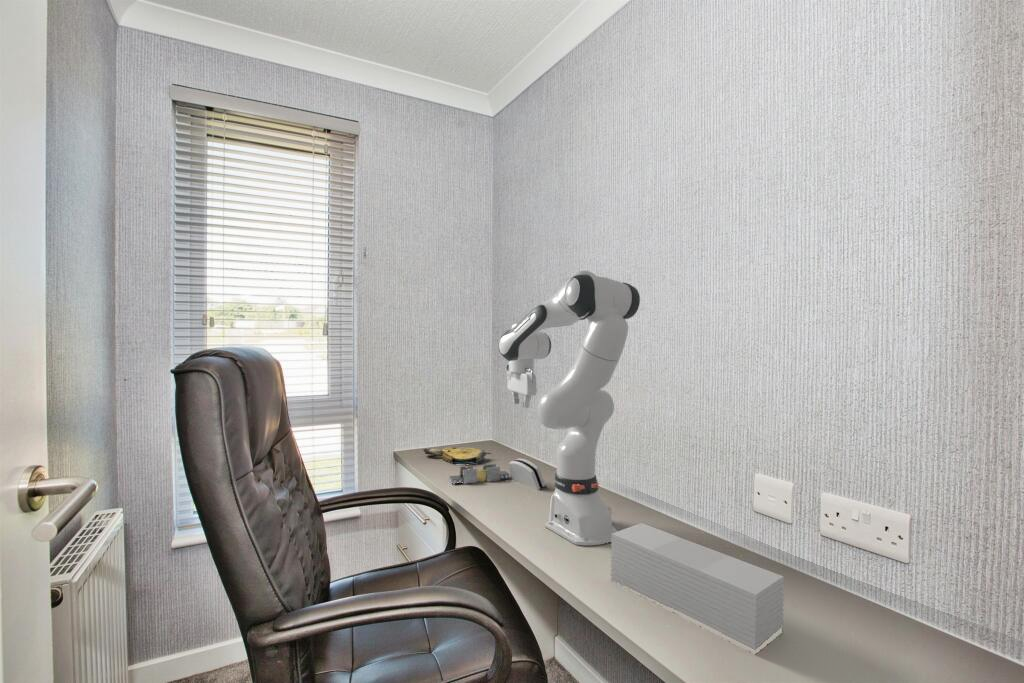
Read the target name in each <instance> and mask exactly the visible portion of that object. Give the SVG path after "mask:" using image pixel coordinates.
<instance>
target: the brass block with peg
mask: <svg viewBox="0 0 1024 683" xmlns="http://www.w3.org/2000/svg"><path fill="white" fill-rule="evenodd" d="M489 468H490V467H489ZM477 481H480V482H487V481H486V469H483V468H482V469H477Z"/></svg>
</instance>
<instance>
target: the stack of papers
mask: <svg viewBox="0 0 1024 683" xmlns="http://www.w3.org/2000/svg"><path fill="white" fill-rule="evenodd" d="M617 531H618V532H615V533H612V536H611V538H612V539H611V543H610V545H611V549H610V550H611V552H610V555H611V557H610V559H611V560H610V564H611V565H610V568H611V569H610V581H611V580H612V581H611V582H613V581H614V582H613V583H615V582H616V583H615V584H617V583H619V584H621V585H623V586H626V587H628V588H629V589H632V590H634V591H636V592H638V593H640V594H642V595H644V596H646V597H648V598H650V599H653V600H655V601H657V602H659V603H660V604H663V605H665V606H667V607H670V608H673V609H674V610H677V611H679V612H681V613H683V614H685V615H687V616H689V617H691V618H693V619H695V620H697V621H699V622H701V623H703V624H705V625H707V626H709V627H711V628H713V629H715V630H717V631H719V632H721V633H722V634H724V635H726V636H728V637H730V638H732V639H734V640H736V641H738V642H740V643H742V644H744V645H746V646H748V647H750V648H752V649H754V650H756V649H757V648H758V647H760V646H761V645H762V644H763V643H764V642H765V641H766V640H768V639H769V638H770V637H771V636H772V635H773V634H774V633H776V632H777V631H778V630H779V629H780V628H781V627H782V626H783V627H784V624H783V623H784V619H783V618H784V599H785V598H784V596H785V594H784V590H785V588H784V586H785V584H784V582H785V577H784V576H783V575H781V574H778V573H775V572H772V571H770V570H768V569H765V568H761V567H760V566H757V565H754V564H751V563H749V562H747V561H743V560H741V559H739V558H735V557H733V556H730V555H728V554H725V553H722V552H721V551H720V552H719V551H716V550H714V549H712V548H709V547H707V546H704V545H701V544H698V543H696V542H693V541H691V540H688V539H685V538H683V537H681V536H680V537H679V536H677V535H675V534H672V533H670V532H667V531H664V530H661V529H659V528H655V527H653V526H651V525H648V524H645V523H644V522H640V523H638V524H637V523H636V524H635V525H632V526H630V527H629V526H628V527H626V528H623V529H621V530H617ZM619 584H618V585H619ZM621 585H620V586H621Z"/></svg>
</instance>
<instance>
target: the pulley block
mask: <svg viewBox="0 0 1024 683" xmlns="http://www.w3.org/2000/svg"><path fill="white" fill-rule="evenodd" d="M423 452H424V454H425V455H431V456H437V457H438V456H439V457H440V456H441V459H442V460H443V461H445V462H447V461H448V463H449V462H450V464H451V463H455V464H454V465H456V464H471V465H470V466H472V464H473V465H477V464H478V463H480V461H484V460H485V456H486V455H487V454H488V455H492V453H491V452H486V451H485V449H483V450H481V449H479V448H474V447H456V446H453V447H451V446H449V447H444V448H442V449H436V448H424V449H423Z"/></svg>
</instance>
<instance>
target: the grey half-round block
mask: <svg viewBox="0 0 1024 683" xmlns="http://www.w3.org/2000/svg"><path fill="white" fill-rule="evenodd" d="M507 465H508V466H507V467H508V469H509V470H508V471H509V476H510V478H511V480H514V481H516V482H518V483H521V484H523V485H525V486H527V487H530V488H532V489H534V490H536V491H539V490H541V488H548V489H549V486H548V483H547V482H546V481H544V478H543V476H542V472H541V470H540V468H539V467H538V466H537V465H536V464H534V463H533V462H531V461H529V460H527V459H525V458H515V459H513V460H512V461H510V462H509V463H508V464H507Z"/></svg>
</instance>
